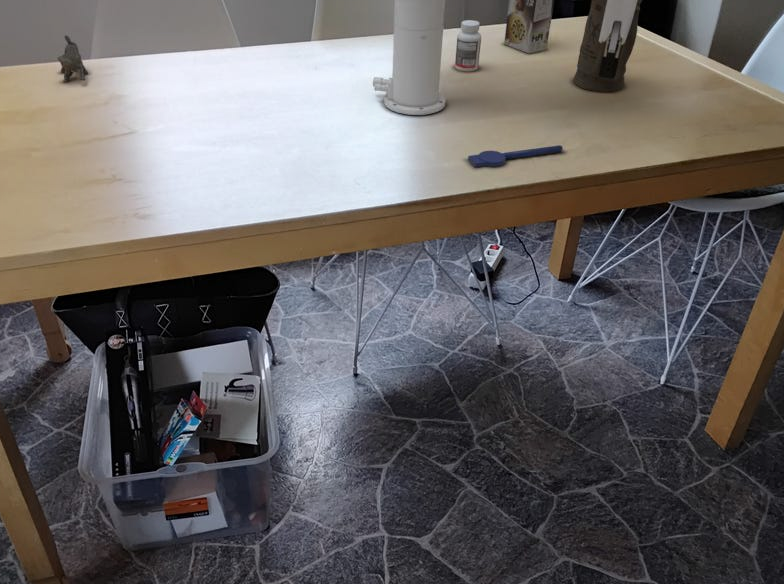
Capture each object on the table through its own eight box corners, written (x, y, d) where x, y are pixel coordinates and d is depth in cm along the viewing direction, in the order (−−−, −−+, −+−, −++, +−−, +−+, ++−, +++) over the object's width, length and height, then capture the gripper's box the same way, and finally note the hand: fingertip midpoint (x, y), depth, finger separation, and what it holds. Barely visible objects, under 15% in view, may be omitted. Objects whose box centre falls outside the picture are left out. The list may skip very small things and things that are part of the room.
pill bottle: (461, 62, 169) (466, 17, 162) (482, 67, 166) (487, 21, 160) (450, 68, 165) (454, 23, 159) (470, 73, 163) (475, 27, 157)
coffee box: (547, 49, 176) (559, -24, 166) (528, 54, 174) (539, -20, 163) (521, 39, 182) (531, -32, 172) (502, 44, 179) (511, -29, 169)
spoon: (477, 169, 127) (477, 163, 126) (465, 158, 130) (466, 151, 129) (568, 156, 131) (569, 150, 130) (555, 146, 134) (556, 139, 134)
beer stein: (562, 76, 162) (583, -21, 148) (602, 70, 165) (627, -25, 151) (600, 106, 152) (627, 5, 138) (643, 99, 155) (674, 0, 141)
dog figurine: (61, 69, 162) (52, 34, 157) (88, 67, 163) (80, 32, 159) (59, 88, 153) (50, 52, 149) (88, 86, 155) (79, 50, 150)
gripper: (611, -36, 139) (591, 62, 151) (603, -17, 129) (583, 86, 141) (651, -33, 138) (628, 66, 149) (647, -14, 127) (623, 91, 139)
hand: (606, 76), depth 145 cm, fingers closed
